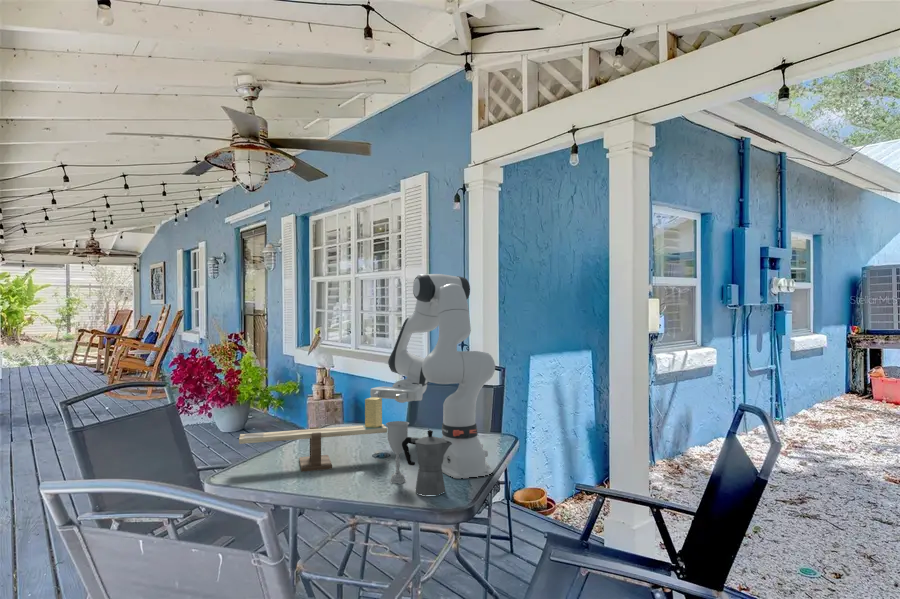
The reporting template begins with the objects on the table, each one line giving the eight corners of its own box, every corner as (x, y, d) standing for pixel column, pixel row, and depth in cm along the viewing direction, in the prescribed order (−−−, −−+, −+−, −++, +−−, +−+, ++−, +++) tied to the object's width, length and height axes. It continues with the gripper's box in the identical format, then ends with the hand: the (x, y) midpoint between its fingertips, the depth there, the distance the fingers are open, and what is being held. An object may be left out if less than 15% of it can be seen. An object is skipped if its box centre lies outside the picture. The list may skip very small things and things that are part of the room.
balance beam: (386, 432, 191) (386, 427, 191) (239, 443, 176) (239, 438, 176) (383, 428, 198) (383, 423, 198) (240, 439, 182) (240, 434, 182)
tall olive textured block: (382, 425, 194) (381, 397, 195) (375, 428, 190) (375, 399, 190) (371, 424, 196) (371, 397, 196) (365, 427, 192) (365, 399, 192)
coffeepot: (456, 488, 161) (455, 428, 162) (447, 499, 152) (447, 435, 152) (407, 484, 165) (407, 425, 166) (396, 494, 156) (396, 432, 157)
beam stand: (332, 468, 181) (332, 433, 182) (301, 471, 178) (301, 435, 178) (328, 458, 195) (327, 424, 195) (299, 460, 192) (299, 426, 192)
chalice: (409, 477, 172) (409, 421, 172) (409, 484, 165) (408, 425, 165) (386, 477, 171) (386, 421, 172) (385, 484, 165) (384, 425, 165)
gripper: (380, 382, 220) (362, 386, 207) (425, 384, 212) (410, 389, 199) (380, 397, 219) (362, 403, 207) (425, 400, 212) (410, 406, 199)
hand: (386, 396), depth 203 cm, fingers open, 8 cm apart
